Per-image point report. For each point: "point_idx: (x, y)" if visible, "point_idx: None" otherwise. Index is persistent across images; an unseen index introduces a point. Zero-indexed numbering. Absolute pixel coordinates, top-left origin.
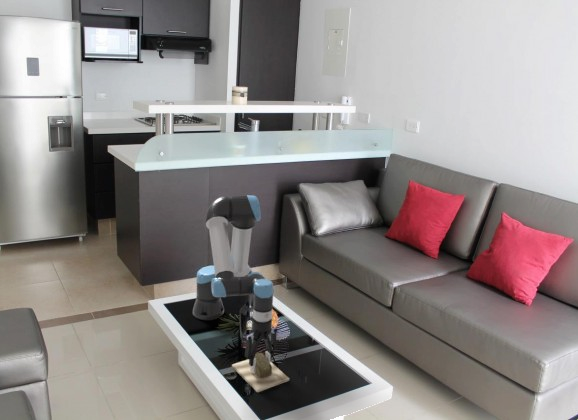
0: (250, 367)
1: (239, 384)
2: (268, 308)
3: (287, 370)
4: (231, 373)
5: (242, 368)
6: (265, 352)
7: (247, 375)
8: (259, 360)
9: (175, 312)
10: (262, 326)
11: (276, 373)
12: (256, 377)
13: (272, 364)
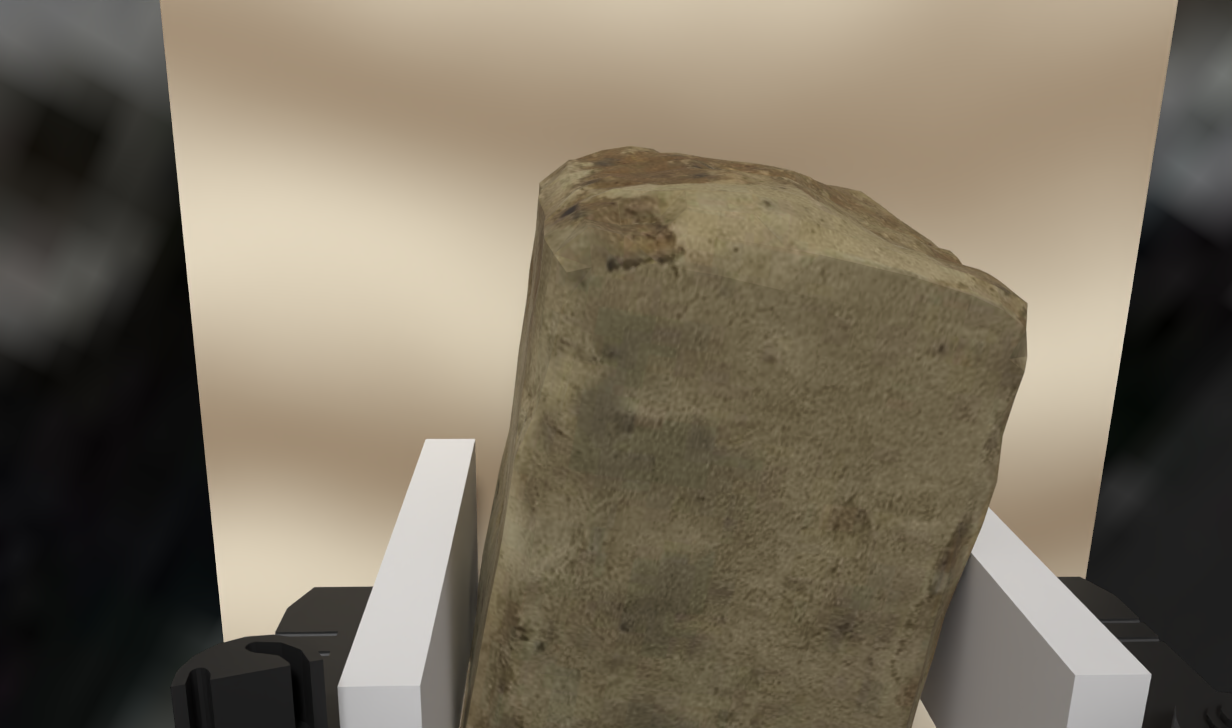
0: (415, 474)
1: (51, 587)
2: None
3: (1214, 652)
4: (40, 123)
5: (339, 166)
6: (1052, 647)
7: (311, 490)
8: (654, 699)
9: None
10: None
11: (927, 723)
12: None
13: (1086, 405)
